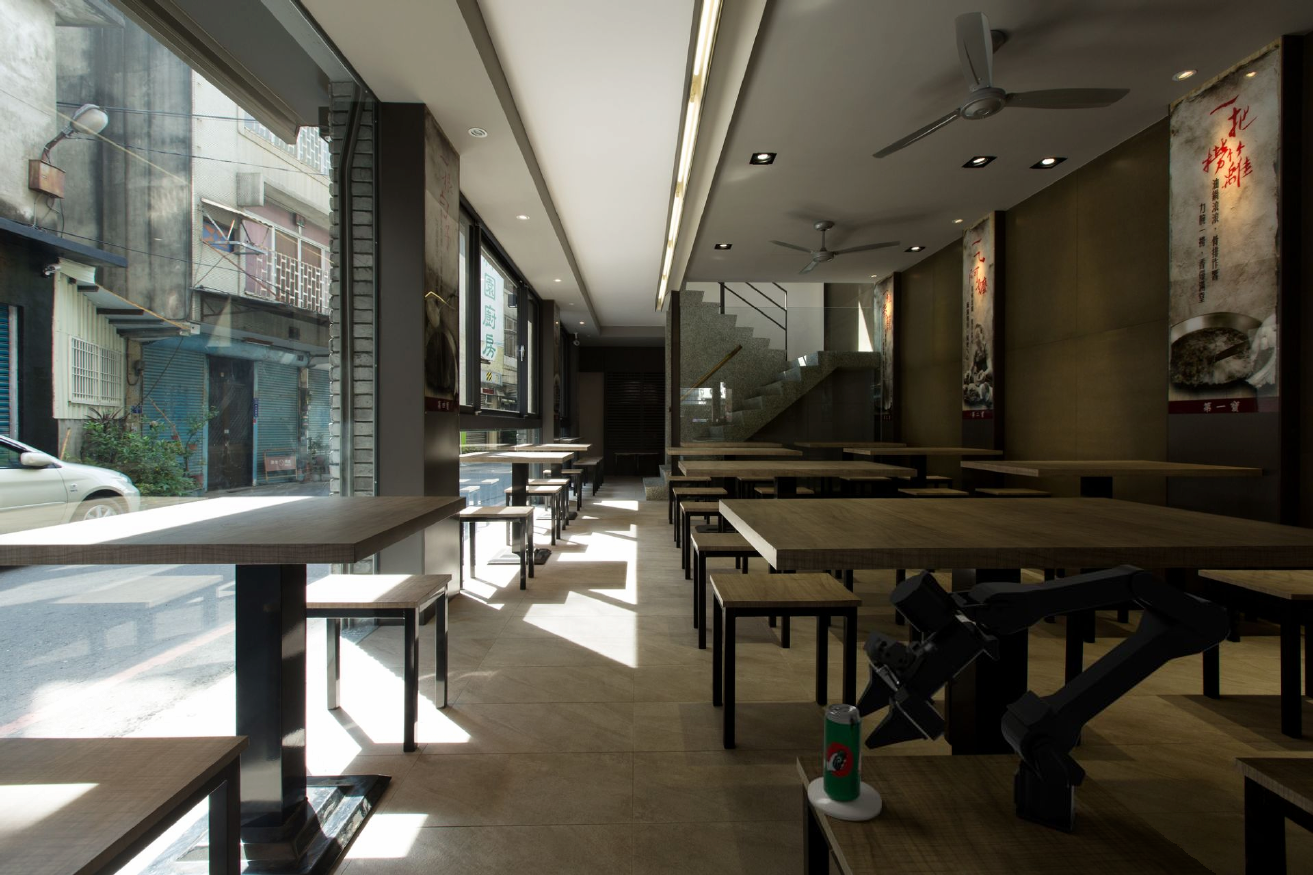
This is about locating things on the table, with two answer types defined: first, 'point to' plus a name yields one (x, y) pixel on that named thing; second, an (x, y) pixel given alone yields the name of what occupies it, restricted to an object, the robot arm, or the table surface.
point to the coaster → (846, 803)
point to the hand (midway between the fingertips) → (860, 731)
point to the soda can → (842, 752)
